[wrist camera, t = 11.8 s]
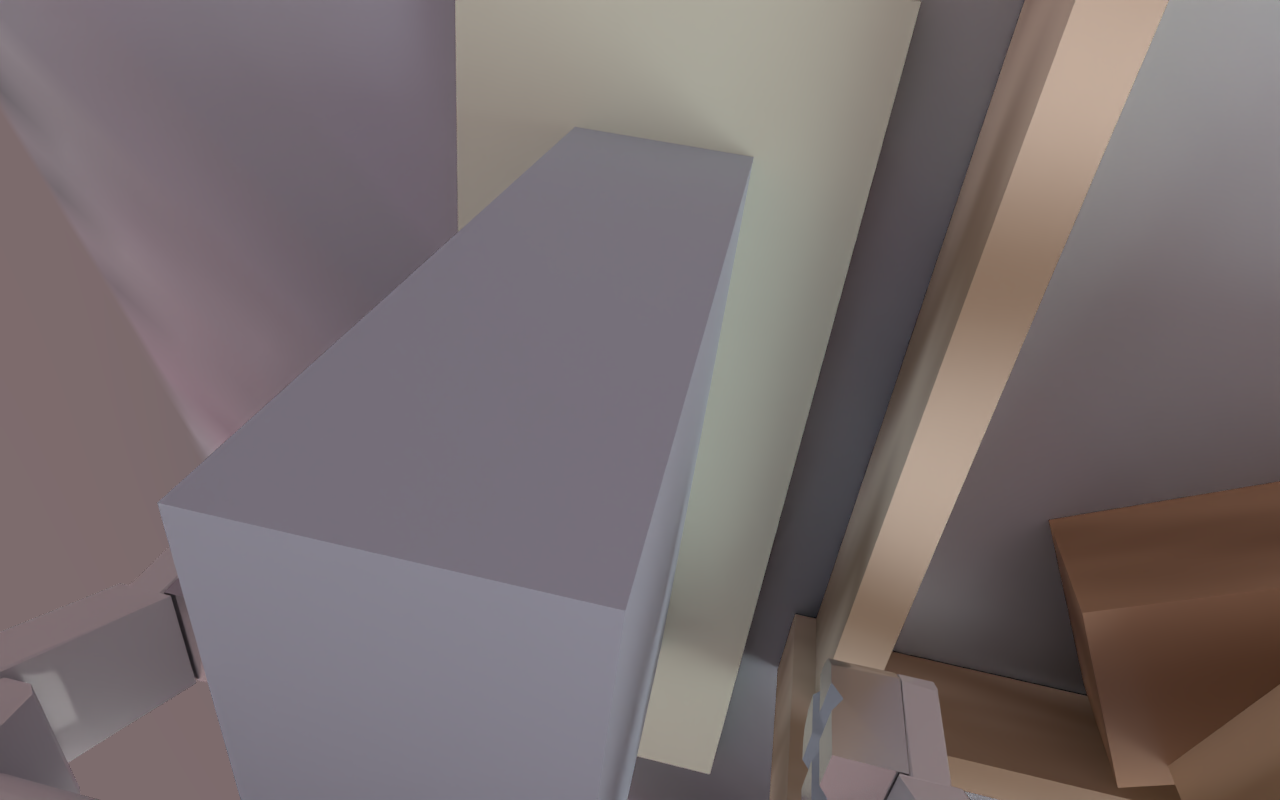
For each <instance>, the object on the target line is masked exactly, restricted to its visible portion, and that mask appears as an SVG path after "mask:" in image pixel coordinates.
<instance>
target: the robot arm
mask: <svg viewBox="0 0 1280 800" xmlns="http://www.w3.org/2000/svg"><path fill="white" fill-rule="evenodd" d="M196 680H198V681H203V682H207V678H206V674H205V671H204V667H203V664H202V660H201V657H200V653H199V650H198V646H197V642H196V639H195V635H194V632H193V628H192V625H191V621H190V618H189V614H188V610H187V607H186V603H185V600H184V596H183V593H182V589H181V585H180V582H179V578H178V575H177V571H176V568H175V564H174V561H173V557H172V553H171V550H170V546H169V547H168V548H167V549H166V550H165V551H164V552H163V553H162V554H161V555H160V556H159V557H158V558H157V559H156V560H155V561H154V562H153V563H152V564H150V566H148V567H147V568H146V569H145V570H144V571H143V572H142V573H141V574H140V575H139V576H138V577H137V578H136V579H135V580H134V581H133V582H132V583H131V584H130V585H126V584H121V583H120V584H117V585H115V586H112V587H110V588H107V589H105V590H102V591H100V592H97V593H95V594H92V595H90V596H87V597H85V598H82V599H80V600H77V601H75V602H72V603H70V604H68V605H65V606H62V607H60V608H57V609H55V610H52V611H50V612H48V613H45V614H43V615H40V616H38V617H35V618H33V619H30V620H28V621H25V622H23V623H20V624H18V625H15V626H13V627H10V628H8V629H5V630H3V631H0V800H99V799H95V798H91V797H88V796H84V795H80V787H79V785H78V783H77V781H76V779H75V777H74V774H73V772H72V770H71V768H70V766H69V764H68V762H70V761H72V760H73V759H75V758H76V757H78V756H80V755H81V754H83V753H84V752H86V751H88V750H89V749H91V748H93V747H94V746H96V745H97V744H99V743H101V742H102V741H104V740H105V739H107V738H109V737H110V736H112V735H113V734H115V733H117V732H118V731H120V730H122V729H123V728H125V727H126V726H128V725H130V724H131V723H133V722H134V721H136V720H138V719H139V718H141V717H143V716H144V715H146V714H147V713H149V712H150V711H152V710H154V709H155V708H157V707H159V706H160V705H162V704H163V703H165V702H167V701H168V700H170V699H172V698H173V697H175V696H176V695H178V694H180V693H181V692H183V691H184V690H186V689H188V688H189V687H191V686H193V685H194V684H195V683H196ZM207 683H208V682H207ZM802 760H803V761H804V763H805V765H806V766H807V768H808V772H807V775H806V778H805V780H804V783H803V786H802V790H801V800H970V798H969V797H968V796H967V794H966V793H965V792H964V790H963V789H960V788H956V787H953V786H952V784H951V778H950V771H949V764H948V757H947V750H946V744H945V737H944V730H943V723H942V717H941V710H940V703H939V696H938V689H937V687H936V686H935V684H934V682H931V681H927V680H922V679H918V678H914V677H909V676H905V675H900V674H897V675H896V674H895V673H893V672H889V671H884V670H880V669H875V668H871V667H866V666H861V665H857V664H852V663H848V662H843V661H839V660H834V659H829V658H828V659H827V661H826V662H825V664H824V666H823V669H822V672H821V674H820V691H819V692H817V693H815V694H813V697H812V700H811V703H810V706H809V709H808V713H807V718H806V723H805V728H804V738H803V756H802Z"/></svg>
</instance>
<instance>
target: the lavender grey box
mask: <svg viewBox="0 0 1280 800" xmlns="http://www.w3.org/2000/svg"><path fill="white" fill-rule="evenodd" d="M753 158H754V157H751V156H745V155H739V154H733V153H727V152H721V151H715V150H710V149H704V148H698V147H692V146H686V145H680V144H674V143H668V142H662V141H656V140H650V139H644V138H638V137H632V136H626V135H620V134H615V133H609V132H603V131H597V130H591V129H585V128H579V127H574V128H573V129H572V130H571V131H570V132H569V133H568V134H566V135H565V136H564V137H563V138H562V139H561V140H560V141H559V142H558V143H556V144H555V145H554V146H553V147H552V148H551V149H550V150H549V151H548V152H546V153H545V154H544V155H543V156H542V157H541V158H540V159H539V160H538V161H536V162H535V163H534V164H533V165H532V166H531V167H530V168H529V169H528V170H526V171H525V172H524V173H523V174H522V175H521V176H520V177H519V178H518V179H516V180H515V181H514V182H513V183H512V184H511V185H510V186H509V187H508V188H506V189H505V190H504V191H503V192H502V193H501V194H500V195H499V196H498V197H496V198H495V199H494V200H493V201H492V202H491V203H490V204H489V205H488V206H486V207H485V208H484V209H483V210H482V211H481V212H480V213H479V214H478V215H476V216H475V217H474V218H473V219H472V220H471V221H470V222H469V223H468V224H466V225H465V226H464V227H463V228H462V229H461V230H460V231H459V232H458V233H456V234H455V235H454V236H453V237H452V238H451V239H450V240H449V241H448V242H446V243H445V244H444V245H443V246H442V247H441V248H440V249H439V250H438V251H436V252H435V253H434V254H433V255H432V256H431V257H430V258H429V259H428V260H426V261H425V262H424V263H423V264H422V265H421V266H420V267H419V268H418V269H416V270H415V271H414V272H413V273H412V274H411V275H410V276H409V277H408V278H406V279H405V280H404V281H403V282H402V283H401V284H400V285H399V286H398V287H396V288H395V289H394V290H393V291H392V292H391V293H390V294H389V295H388V296H386V297H385V298H384V299H383V300H382V301H381V302H380V303H379V304H378V305H376V306H375V307H374V308H373V309H372V310H371V311H370V312H369V313H368V314H366V315H365V316H364V317H363V318H362V319H361V320H360V321H359V322H358V323H356V324H355V325H354V326H353V327H352V328H351V329H350V330H349V331H348V332H346V333H345V334H344V335H343V336H342V337H341V338H340V339H339V340H338V341H336V342H335V343H334V344H333V345H332V346H331V347H330V348H329V349H328V350H326V351H325V352H324V353H323V354H322V355H321V356H320V357H319V358H318V359H316V360H315V361H314V362H313V363H312V364H311V365H310V366H309V367H308V368H306V369H305V370H304V371H303V372H302V373H301V374H300V375H299V376H298V377H296V378H295V379H294V380H293V381H292V382H291V383H290V384H289V385H288V386H286V387H285V388H284V389H283V390H282V391H281V392H280V393H279V394H278V395H276V396H275V397H274V398H273V399H272V400H271V401H270V402H269V403H268V404H266V405H265V406H264V407H263V408H262V409H261V410H260V411H259V412H258V413H256V414H255V415H254V416H253V417H252V418H251V419H250V420H249V421H248V422H246V423H245V424H244V425H243V426H242V427H241V428H240V429H239V430H238V431H236V432H235V433H234V434H233V435H232V436H231V437H230V438H229V439H228V440H226V441H225V442H224V443H223V444H222V445H221V446H220V447H219V448H218V449H216V450H215V451H214V452H213V453H212V454H211V455H210V456H209V457H208V458H206V459H205V460H204V461H203V462H202V463H201V464H200V465H199V466H198V467H197V468H195V470H193V471H192V472H191V473H190V474H189V475H188V476H187V477H186V478H185V479H183V480H182V481H181V482H180V483H179V484H178V485H177V486H175V487H174V488H173V489H172V490H171V491H170V492H169V493H168V494H167V495H165V496H164V497H163V498H162V499H161V500H160V501H159V502H158V503H157V504H158V507H159V511H160V514H161V518H162V521H163V525H164V528H165V532H166V536H167V539H168V542H169V546H170V550H171V553H172V557H173V561H174V564H175V568H176V571H177V575H178V578H179V582H180V585H181V589H182V593H183V596H184V600H185V603H186V607H187V610H188V614H189V618H190V621H191V625H192V628H193V632H194V635H195V639H196V642H197V646H198V650H199V653H200V657H201V660H202V664H203V667H204V671H205V674H206V678H207V682H208V685H209V689H210V692H211V696H212V699H213V703H214V706H215V710H216V713H217V717H218V721H219V724H220V728H221V731H222V735H223V739H224V742H225V746H226V749H227V752H228V756H229V760H230V764H231V767H232V771H233V774H234V778H235V781H236V785H237V788H238V792H239V796H240V799H241V800H627V799H628V795H629V790H630V785H631V781H632V776H633V772H634V767H635V763H636V758H637V754H638V749H639V745H640V740H641V736H642V731H643V727H644V722H645V718H646V713H647V709H648V704H649V700H650V695H651V691H652V686H653V681H654V677H655V672H656V668H657V663H658V659H659V654H660V650H661V645H662V639H663V634H664V629H665V624H666V618H667V613H668V608H669V602H670V597H671V592H672V587H673V581H674V576H675V571H676V565H677V560H678V555H679V550H680V544H681V539H682V534H683V528H684V523H685V518H686V513H687V507H688V502H689V497H690V491H691V486H692V481H693V475H694V470H695V465H696V460H697V454H698V449H699V444H700V438H701V433H702V428H703V423H704V417H705V412H706V407H707V401H708V396H709V391H710V386H711V380H712V375H713V370H714V364H715V359H716V354H717V349H718V343H719V338H720V333H721V327H722V322H723V317H724V312H725V306H726V301H727V296H728V290H729V285H730V280H731V275H732V269H733V264H734V259H735V253H736V248H737V243H738V237H739V232H740V227H741V222H742V216H743V211H744V206H745V200H746V195H747V190H748V185H749V179H750V174H751V169H752V163H753Z"/></svg>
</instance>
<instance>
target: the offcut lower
mask: <svg viewBox="0 0 1280 800" xmlns="http://www.w3.org/2000/svg"><path fill="white" fill-rule="evenodd" d="M1049 524H1050V529H1051V533H1052V538H1053V543H1054V547H1055V552H1056V557H1057V561H1058V566H1059V571H1060V575H1061V580H1062V585H1063V589H1064V594H1065V599H1066V603H1067V608H1068V613H1069V617H1070V622H1071V627H1072V631H1073V636H1074V641H1075V645H1076V650H1077V655H1078V659H1079V664H1080V669H1081V673H1082V678H1083V683H1084V687H1085V690H1086V693H1087V696H1088V699H1089V702H1090V705H1091V708H1092V711H1093V714H1094V717H1095V720H1096V723H1097V726H1098V729H1099V732H1100V735H1101V738H1102V741H1103V744H1104V747H1105V750H1106V753H1107V756H1108V759H1109V762H1110V765H1111V769H1112V772H1113V775H1114V778H1115V781H1116V784H1117V787H1118V788H1124V787H1141V786H1159V785H1175V783H1174V780H1173V778H1172V775H1171V773H1170V770H1169V768H1168V766H1169V765H1170V764H1171V763H1173V762H1174V761H1175V760H1177V759H1178V758H1180V757H1181V756H1182V755H1184V754H1185V753H1186V752H1188V751H1189V750H1191V749H1192V748H1193V747H1195V746H1196V745H1197V744H1199V743H1200V742H1201V741H1203V740H1204V739H1206V738H1207V737H1208V736H1210V735H1211V734H1212V733H1214V732H1215V731H1217V730H1218V729H1219V728H1221V727H1222V726H1223V725H1225V724H1226V723H1227V722H1229V721H1230V720H1232V719H1233V718H1234V717H1236V716H1237V715H1238V714H1240V713H1241V712H1242V711H1244V710H1245V709H1247V708H1248V707H1249V706H1251V705H1252V704H1253V703H1255V702H1256V701H1258V700H1259V699H1260V698H1262V697H1263V696H1264V695H1266V694H1267V693H1268V692H1270V691H1271V690H1273V689H1274V688H1275V687H1277V686H1278V685H1279V684H1280V481H1279V482H1273V483H1267V484H1261V485H1255V486H1249V487H1243V488H1237V489H1231V490H1225V491H1219V492H1213V493H1207V494H1201V495H1195V496H1189V497H1183V498H1177V499H1171V500H1165V501H1159V502H1153V503H1147V504H1141V505H1135V506H1129V507H1123V508H1117V509H1111V510H1105V511H1099V512H1093V513H1087V514H1081V515H1075V516H1069V517H1063V518H1057V519H1051V520H1049Z"/></svg>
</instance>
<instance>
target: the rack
mask: <svg viewBox="0 0 1280 800" xmlns="http://www.w3.org/2000/svg"><path fill="white" fill-rule="evenodd" d="M1168 1H1169V0H1025V1H1024V4H1023V7H1022V10H1021V13H1020V16H1019V19H1018V22H1017V25H1016V27H1015V30H1014V33H1013V36H1012V39H1011V42H1010V45H1009V48H1008V51H1007V54H1006V57H1005V60H1004V63H1003V66H1002V69H1001V72H1000V75H999V78H998V81H997V84H996V87H995V90H994V93H993V96H992V99H991V102H990V105H989V108H988V111H987V114H986V117H985V120H984V122H983V125H982V128H981V131H980V134H979V137H978V140H977V143H976V146H975V149H974V152H973V155H972V158H971V161H970V164H969V167H968V170H967V173H966V176H965V179H964V182H963V185H962V188H961V191H960V194H959V197H958V200H957V203H956V206H955V209H954V212H953V215H952V218H951V220H950V223H949V226H948V229H947V232H946V235H945V238H944V241H943V244H942V247H941V250H940V253H939V256H938V259H937V262H936V265H935V268H934V271H933V274H932V277H931V280H930V283H929V286H928V289H927V292H926V295H925V298H924V301H923V304H922V307H921V310H920V312H919V315H918V318H917V321H916V324H915V327H914V330H913V333H912V336H911V339H910V342H909V345H908V348H907V351H906V354H905V357H904V360H903V363H902V366H901V369H900V372H899V375H898V378H897V381H896V384H895V387H894V390H893V393H892V396H891V399H890V402H889V405H888V407H887V410H886V413H885V416H884V419H883V422H882V425H881V428H880V431H879V434H878V437H877V440H876V443H875V446H874V449H873V452H872V455H871V458H870V461H869V464H868V467H867V470H866V473H865V476H864V479H863V482H862V485H861V488H860V491H859V494H858V497H857V500H856V503H855V505H854V508H853V511H852V514H851V517H850V520H849V523H848V526H847V529H846V532H845V535H844V538H843V541H842V544H841V547H840V550H839V553H838V556H837V559H836V562H835V565H834V568H833V571H832V574H831V577H830V580H829V583H828V586H827V589H826V592H825V595H824V598H823V600H822V603H821V606H820V609H819V612H818V615H817V618H816V619H815V618H811V617H806V616H802V615H797V614H795V616H794V619H793V622H792V626H791V629H790V632H789V635H788V638H787V641H786V645H785V648H784V651H783V654H782V657H781V661H780V664H779V667H778V673H777V689H776V705H775V721H774V737H773V753H772V768H771V784H770V800H801V790H802V786H803V783H804V780H805V778H806V775H807V772H808V768H807V766H806V765H805V763H804V761H803V760H802V756H803V738H804V728H805V723H806V718H807V713H808V709H809V706H810V703H811V700H812V697H813V694H815V693H817V692H819V691H820V674H821V672H822V669H823V666H824V664H825V662H826V661H827V659H828V658H829V659H834V660H839V661H843V662H848V663H852V664H857V665H861V666H866V667H871V668H875V669H880V670H884V671H889V672H893V673H895V674H896V675H897V674H900V675H905V676H909V677H914V678H918V679H922V680H927V681H931V682H934V684H935V686H936V687H937V689H938V696H939V703H940V710H941V717H942V723H943V730H944V737H945V744H946V750H947V757H948V764H949V771H950V778H951V784H952V786H953V787H956V788H960V789H963V790H964V791H966V792H971V793H975V794H979V795H983V796H987V797H991V798H995V799H999V800H1181V798H1180V795H1179V793H1178V790H1177V788H1176V785H1159V786H1141V787H1124V788H1118V787H1117V784H1116V781H1115V778H1114V775H1113V772H1112V769H1111V765H1110V762H1109V759H1108V756H1107V753H1106V750H1105V747H1104V744H1103V741H1102V738H1101V735H1100V732H1099V729H1098V726H1097V723H1096V720H1095V717H1094V714H1093V711H1092V708H1091V705H1090V702H1089V699H1088V696H1085V695H1080V694H1076V693H1071V692H1067V691H1063V690H1058V689H1054V688H1049V687H1045V686H1041V685H1036V684H1032V683H1028V682H1023V681H1019V680H1014V679H1010V678H1006V677H1001V676H997V675H993V674H988V673H984V672H979V671H975V670H971V669H966V668H962V667H958V666H953V665H949V664H944V663H940V662H936V661H931V660H927V659H922V658H918V657H914V656H909V655H905V654H901V653H896V652H892V650H893V648H894V646H895V643H896V641H897V639H898V636H899V634H900V632H901V629H902V627H903V625H904V622H905V620H906V618H907V615H908V613H909V610H910V608H911V606H912V603H913V601H914V599H915V596H916V594H917V592H918V589H919V587H920V585H921V582H922V580H923V578H924V575H925V573H926V570H927V568H928V566H929V563H930V561H931V559H932V556H933V554H934V552H935V549H936V547H937V545H938V542H939V540H940V538H941V535H942V533H943V531H944V528H945V526H946V523H947V521H948V519H949V516H950V514H951V512H952V509H953V507H954V505H955V502H956V500H957V498H958V495H959V493H960V491H961V488H962V486H963V483H964V481H965V479H966V476H967V474H968V472H969V469H970V467H971V465H972V462H973V460H974V458H975V455H976V453H977V451H978V448H979V446H980V443H981V441H982V439H983V436H984V434H985V432H986V429H987V427H988V425H989V422H990V420H991V418H992V415H993V413H994V411H995V408H996V406H997V404H998V401H999V399H1000V396H1001V394H1002V392H1003V389H1004V387H1005V385H1006V382H1007V380H1008V378H1009V375H1010V373H1011V371H1012V368H1013V366H1014V364H1015V361H1016V359H1017V356H1018V354H1019V352H1020V349H1021V347H1022V345H1023V342H1024V340H1025V338H1026V335H1027V333H1028V331H1029V328H1030V326H1031V324H1032V321H1033V319H1034V317H1035V314H1036V312H1037V309H1038V307H1039V305H1040V302H1041V300H1042V298H1043V295H1044V293H1045V291H1046V288H1047V286H1048V284H1049V281H1050V279H1051V277H1052V274H1053V272H1054V269H1055V267H1056V265H1057V262H1058V260H1059V258H1060V255H1061V253H1062V251H1063V248H1064V246H1065V244H1066V241H1067V239H1068V237H1069V234H1070V232H1071V229H1072V227H1073V225H1074V222H1075V220H1076V218H1077V215H1078V213H1079V211H1080V208H1081V206H1082V204H1083V201H1084V199H1085V197H1086V194H1087V192H1088V190H1089V187H1090V185H1091V182H1092V180H1093V178H1094V175H1095V173H1096V171H1097V168H1098V166H1099V164H1100V161H1101V159H1102V157H1103V154H1104V152H1105V150H1106V147H1107V145H1108V142H1109V140H1110V138H1111V135H1112V133H1113V131H1114V128H1115V126H1116V124H1117V121H1118V119H1119V117H1120V114H1121V112H1122V110H1123V107H1124V105H1125V102H1126V100H1127V98H1128V95H1129V93H1130V91H1131V88H1132V86H1133V84H1134V81H1135V79H1136V77H1137V74H1138V72H1139V70H1140V67H1141V65H1142V63H1143V60H1144V58H1145V55H1146V53H1147V51H1148V48H1149V46H1150V44H1151V41H1152V39H1153V37H1154V34H1155V32H1156V30H1157V27H1158V25H1159V23H1160V20H1161V18H1162V15H1163V13H1164V11H1165V8H1166V6H1167V4H1168Z"/></svg>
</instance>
